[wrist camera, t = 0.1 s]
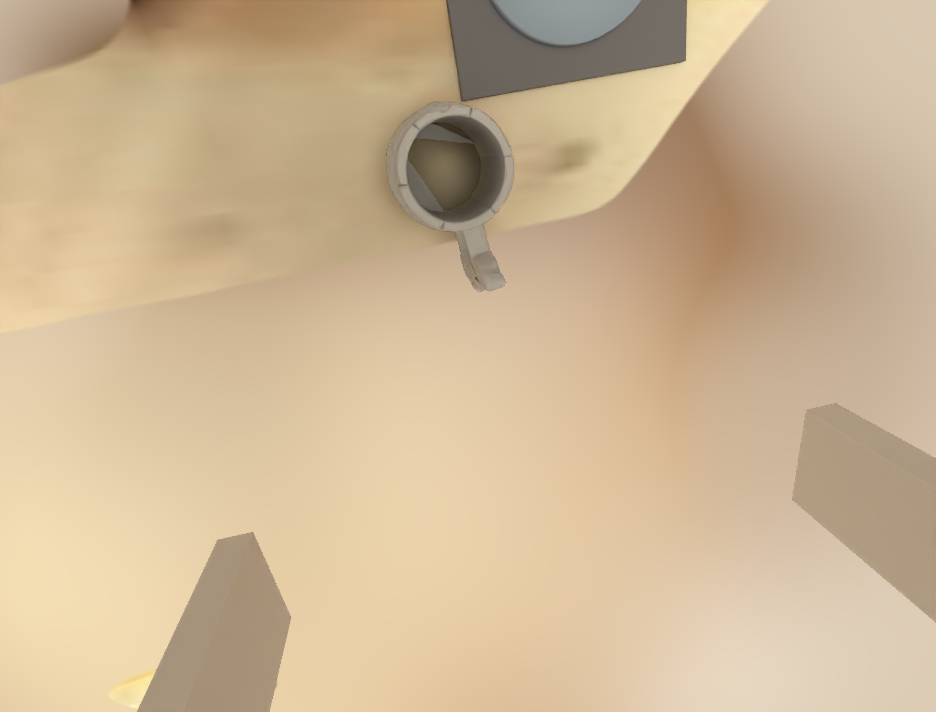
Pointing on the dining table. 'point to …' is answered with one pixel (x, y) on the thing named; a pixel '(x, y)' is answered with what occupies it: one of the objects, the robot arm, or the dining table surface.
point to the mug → (481, 203)
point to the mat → (559, 48)
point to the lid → (563, 19)
